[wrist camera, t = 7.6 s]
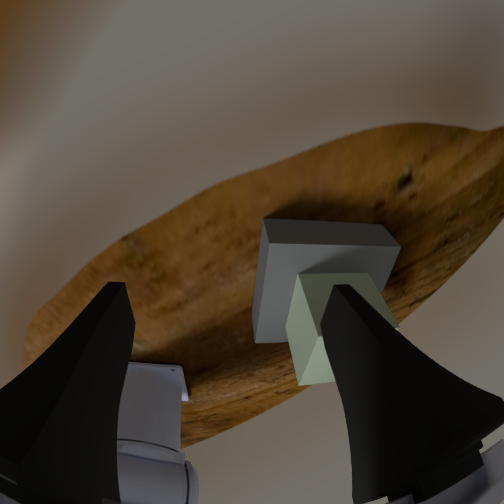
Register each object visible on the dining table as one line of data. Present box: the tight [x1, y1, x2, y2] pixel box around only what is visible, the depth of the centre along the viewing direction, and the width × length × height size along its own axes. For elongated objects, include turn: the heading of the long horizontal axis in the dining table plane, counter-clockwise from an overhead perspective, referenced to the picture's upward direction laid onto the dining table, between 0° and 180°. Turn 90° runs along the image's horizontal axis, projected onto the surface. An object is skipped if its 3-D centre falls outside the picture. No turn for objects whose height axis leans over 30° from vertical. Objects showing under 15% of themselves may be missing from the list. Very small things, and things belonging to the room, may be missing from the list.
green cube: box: [285, 273, 399, 386], centre depth 17 cm, size 5×5×5 cm
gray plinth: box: [252, 218, 401, 343], centre depth 20 cm, size 9×9×3 cm
